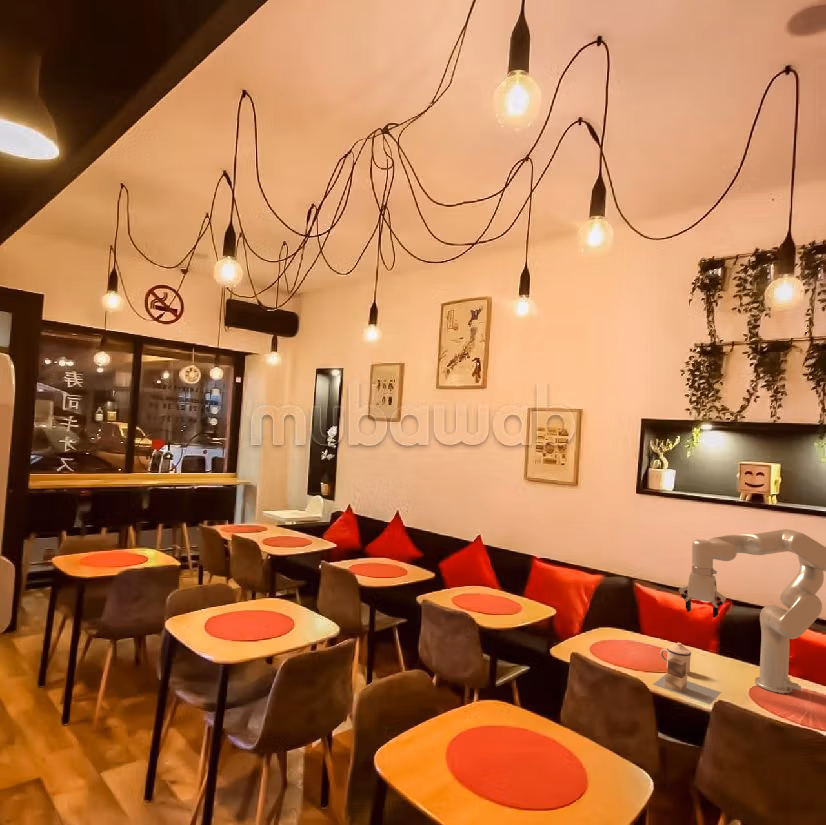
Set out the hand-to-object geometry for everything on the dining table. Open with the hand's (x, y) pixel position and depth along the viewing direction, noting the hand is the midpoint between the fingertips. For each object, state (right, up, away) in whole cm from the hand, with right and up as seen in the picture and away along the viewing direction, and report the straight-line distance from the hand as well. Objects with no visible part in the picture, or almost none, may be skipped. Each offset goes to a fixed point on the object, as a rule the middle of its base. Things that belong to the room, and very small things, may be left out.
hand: (701, 614), depth 226 cm
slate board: (-12, -25, -13) cm, 30 cm away
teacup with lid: (-8, -26, +7) cm, 28 cm away
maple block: (-16, -24, -13) cm, 31 cm away
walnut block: (-16, -19, -12) cm, 27 cm away
